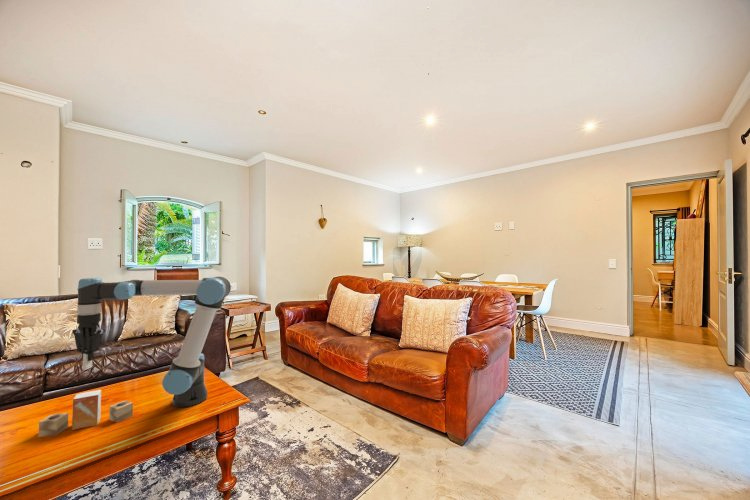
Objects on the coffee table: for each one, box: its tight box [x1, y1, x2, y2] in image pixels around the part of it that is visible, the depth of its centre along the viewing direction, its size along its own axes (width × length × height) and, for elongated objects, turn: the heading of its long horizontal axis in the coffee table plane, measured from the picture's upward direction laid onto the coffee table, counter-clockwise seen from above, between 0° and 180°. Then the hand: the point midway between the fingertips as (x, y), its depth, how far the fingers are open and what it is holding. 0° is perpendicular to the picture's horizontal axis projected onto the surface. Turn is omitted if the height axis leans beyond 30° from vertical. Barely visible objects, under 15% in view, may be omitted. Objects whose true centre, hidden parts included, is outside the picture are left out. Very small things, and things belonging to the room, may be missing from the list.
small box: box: [71, 389, 102, 431], centre depth 130 cm, size 8×6×13 cm
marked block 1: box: [38, 412, 70, 438], centre depth 125 cm, size 6×6×6 cm
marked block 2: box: [108, 400, 134, 423], centre depth 136 cm, size 6×6×6 cm
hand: (87, 368), depth 131 cm, fingers closed
